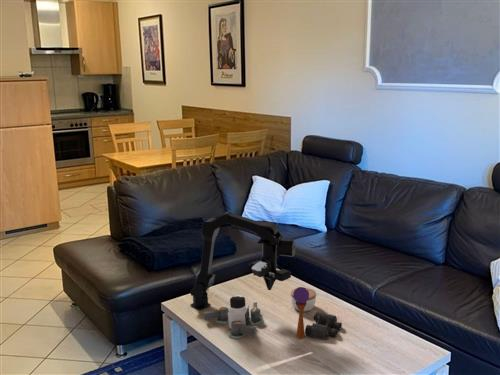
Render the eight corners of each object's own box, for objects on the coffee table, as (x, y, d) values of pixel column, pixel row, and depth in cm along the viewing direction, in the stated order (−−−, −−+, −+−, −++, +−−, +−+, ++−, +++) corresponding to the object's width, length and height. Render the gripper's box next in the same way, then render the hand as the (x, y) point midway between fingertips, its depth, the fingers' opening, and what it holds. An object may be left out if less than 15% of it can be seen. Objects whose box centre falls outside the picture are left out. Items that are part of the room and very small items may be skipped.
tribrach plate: (204, 324, 198) (204, 323, 198) (238, 308, 212) (238, 307, 212) (236, 341, 185) (236, 339, 185) (271, 323, 199) (271, 321, 199)
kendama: (311, 335, 189) (312, 287, 185) (303, 341, 185) (303, 292, 180) (298, 330, 193) (298, 283, 188) (289, 336, 188) (290, 288, 184)
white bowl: (287, 312, 208) (287, 292, 206) (294, 302, 218) (295, 282, 216) (312, 317, 204) (312, 296, 202) (318, 306, 214) (319, 286, 212)
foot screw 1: (227, 315, 204) (227, 305, 203) (229, 319, 200) (229, 310, 199) (203, 318, 201) (203, 309, 200) (205, 323, 198) (205, 313, 197)
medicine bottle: (246, 329, 193) (244, 301, 190) (229, 329, 195) (226, 301, 192) (250, 320, 200) (247, 293, 197) (233, 320, 201) (230, 293, 198)
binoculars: (344, 324, 198) (344, 310, 196) (332, 343, 184) (332, 328, 182) (317, 319, 202) (318, 305, 201) (304, 337, 188) (304, 322, 187)
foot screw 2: (260, 321, 198) (260, 311, 198) (250, 321, 198) (250, 311, 198) (260, 310, 208) (260, 300, 207) (250, 310, 208) (250, 300, 207)
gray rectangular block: (229, 333, 189) (229, 323, 188) (234, 329, 193) (234, 319, 192) (253, 339, 185) (253, 328, 184) (257, 334, 189) (257, 324, 188)
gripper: (239, 253, 199) (239, 289, 203) (273, 265, 187) (273, 303, 190) (258, 246, 207) (258, 281, 210) (291, 257, 194) (291, 294, 198)
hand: (269, 289), depth 202 cm, fingers closed
